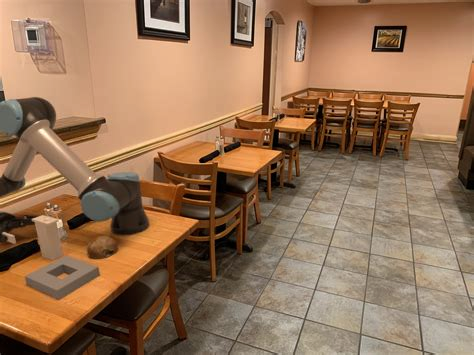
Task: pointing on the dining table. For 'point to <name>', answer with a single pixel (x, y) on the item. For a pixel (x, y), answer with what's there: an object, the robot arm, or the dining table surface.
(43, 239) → the cream block
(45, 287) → the frame
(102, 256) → the bread roll
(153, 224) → the dining table surface
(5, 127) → the robot arm
